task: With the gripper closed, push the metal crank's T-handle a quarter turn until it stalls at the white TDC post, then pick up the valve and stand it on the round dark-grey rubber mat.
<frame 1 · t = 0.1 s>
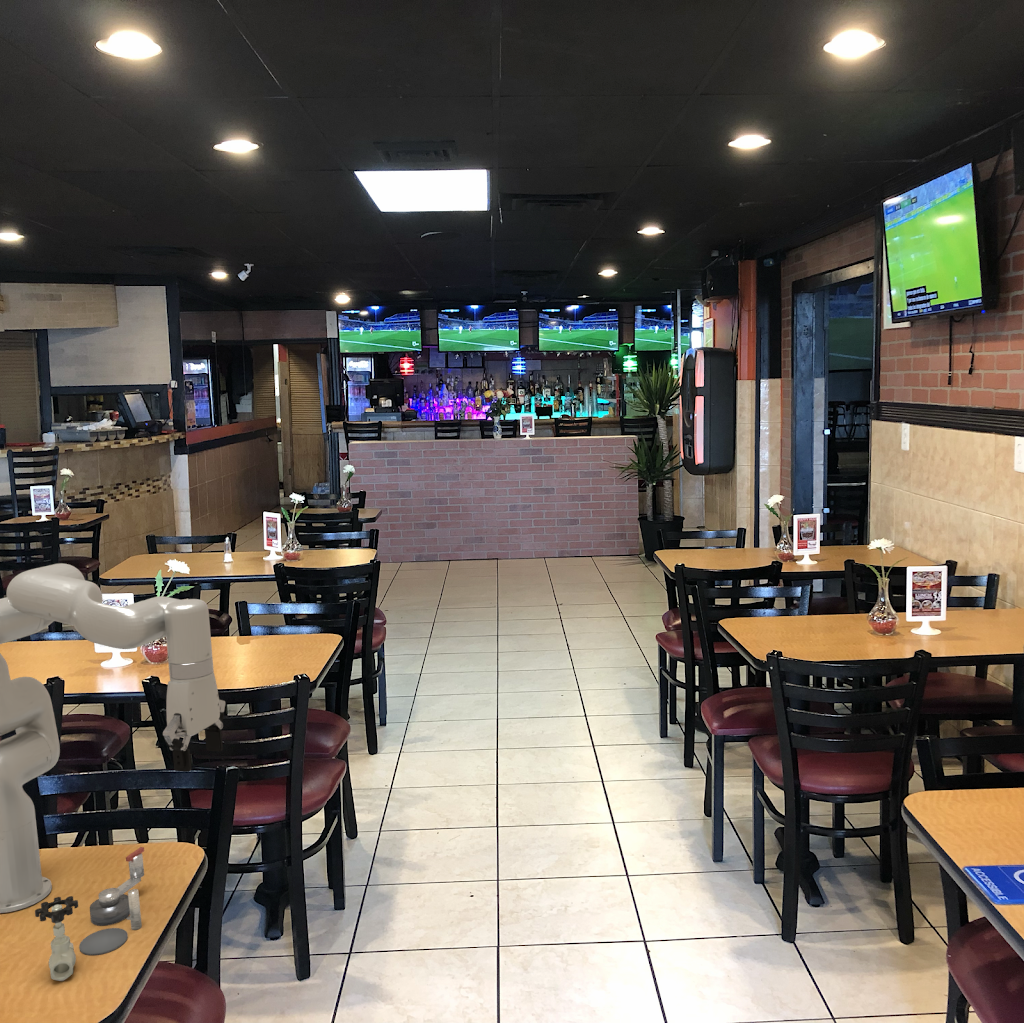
hand: (199, 760, 169), 31 cm above the table, tool pointing down, fingers open, 9 cm apart
crank: (123, 876, 180), point 6 cm above the table, hinge at 0.0°
valve: (63, 973, 159), on the table
crank housing: (111, 915, 176), on the table
mat: (103, 942, 167), on the table
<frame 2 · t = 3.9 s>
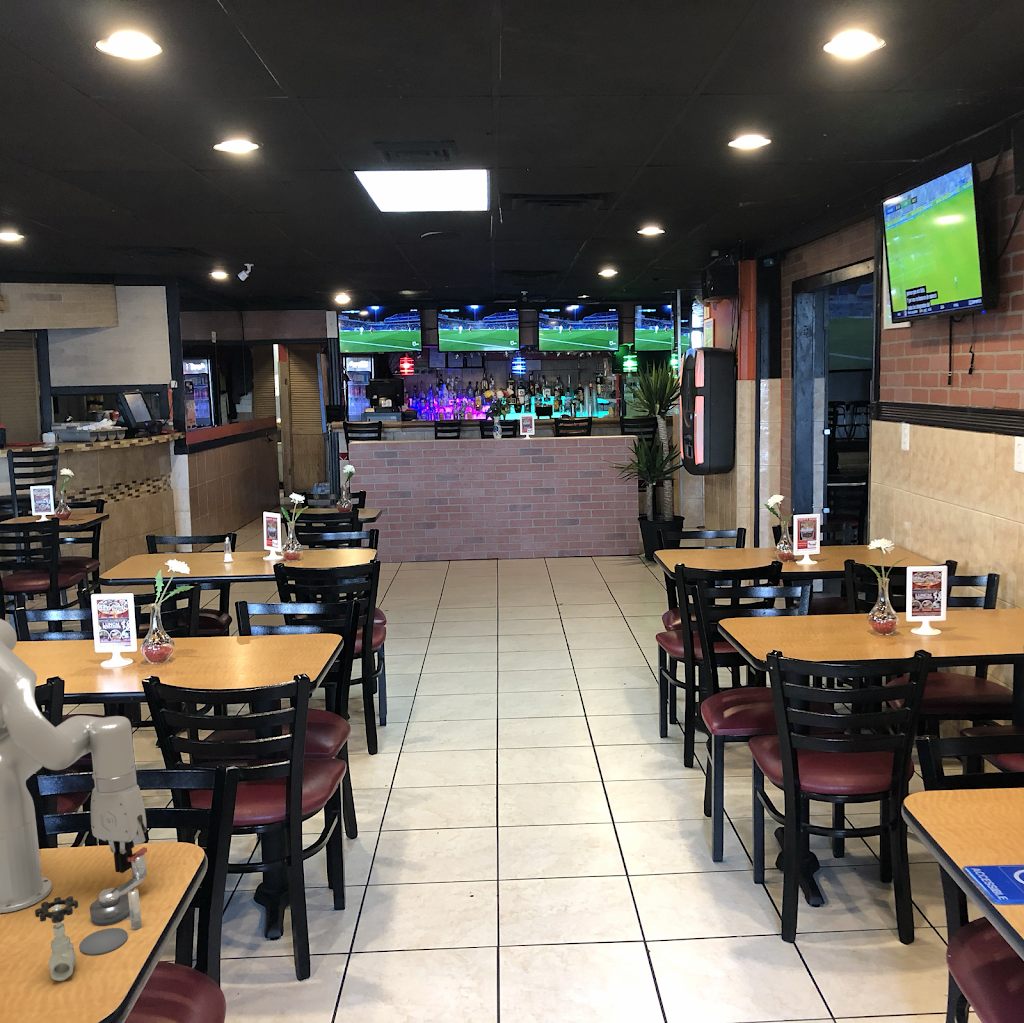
hand: (124, 869, 184), 5 cm above the table, tool pointing down, fingers closed
crank: (124, 876, 180), point 6 cm above the table, hinge at 4.2°, touching gripper
everything else where it was.
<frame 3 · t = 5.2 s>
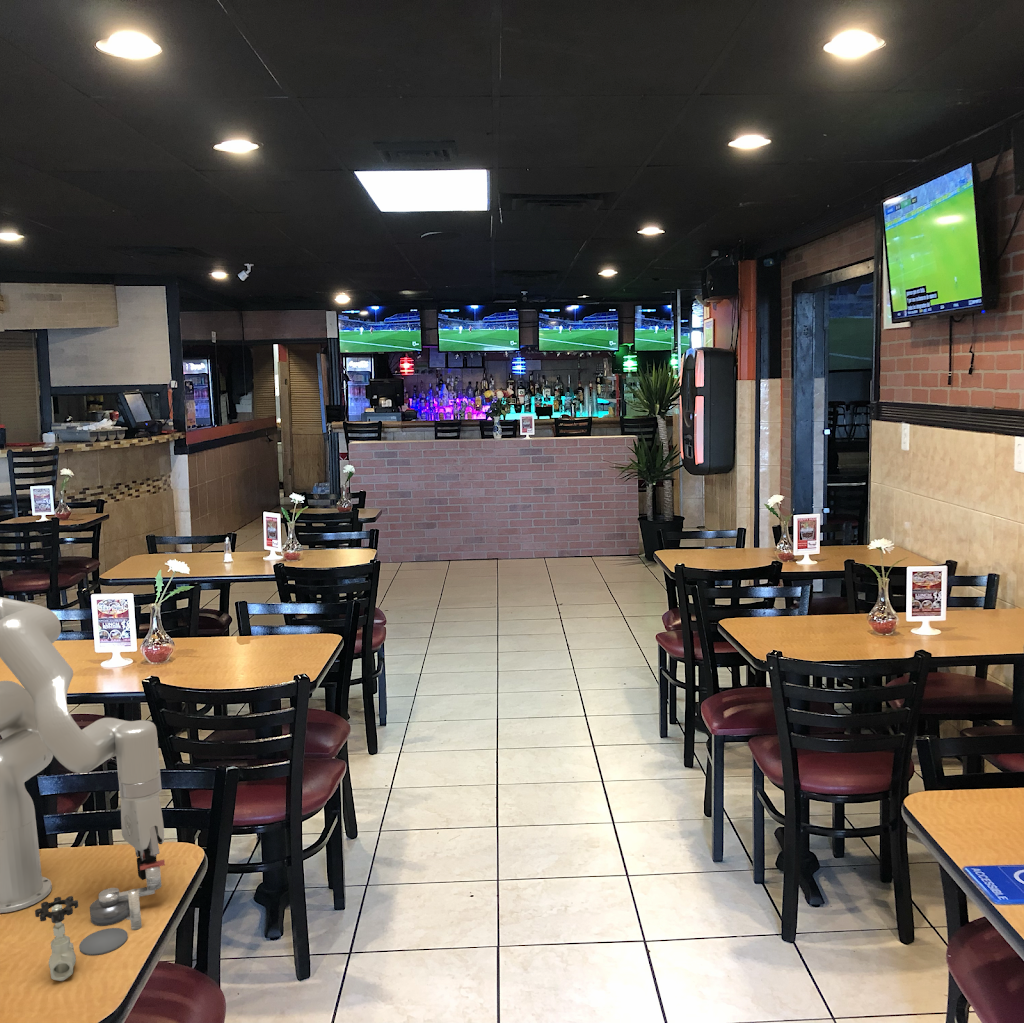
hand: (148, 875, 181), 5 cm above the table, tool pointing down, fingers closed
crank: (132, 881, 177), point 6 cm above the table, hinge at 52.7°, touching gripper
everything else where it was.
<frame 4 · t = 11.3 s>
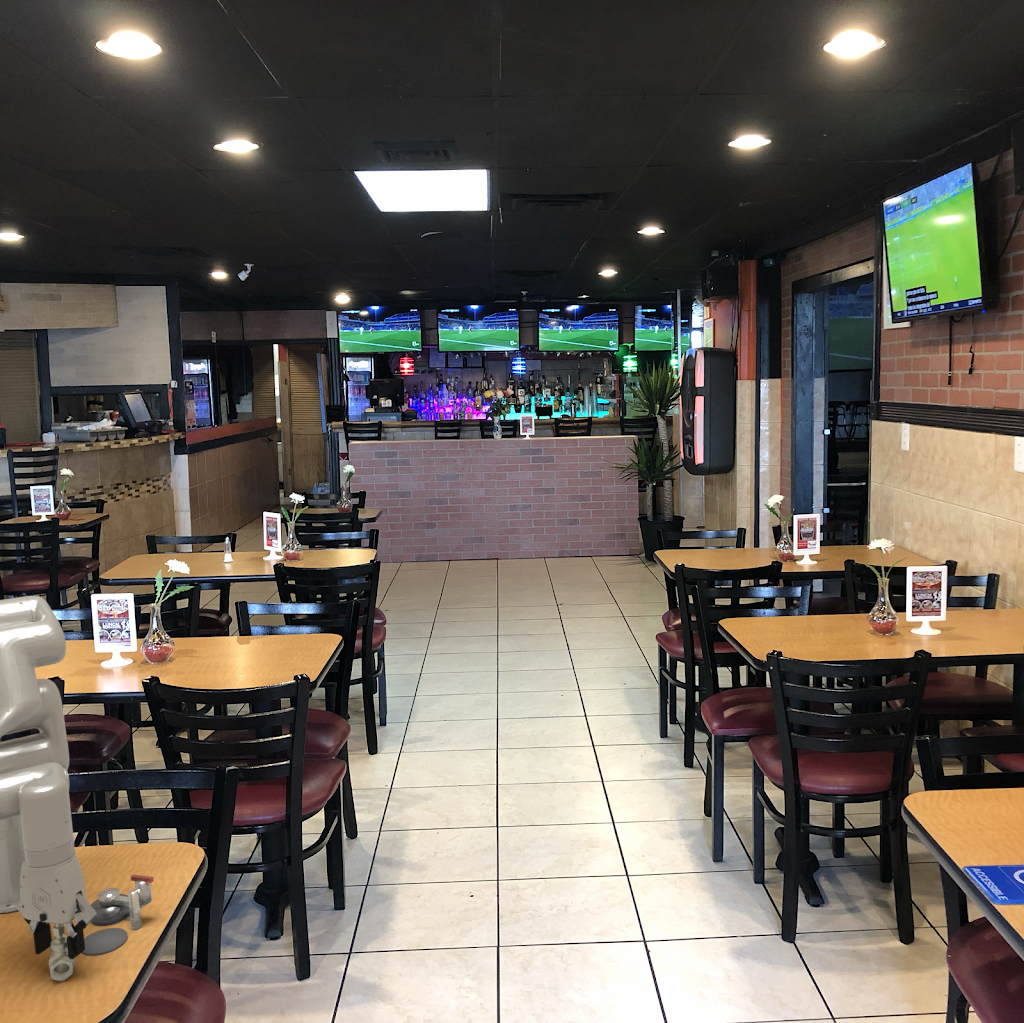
hand: (60, 951, 159), 4 cm above the table, tool pointing down, fingers open, 6 cm apart
crank: (126, 889, 174), point 6 cm above the table, hinge at 91.6°
valve: (63, 973, 159), on the table, touching gripper
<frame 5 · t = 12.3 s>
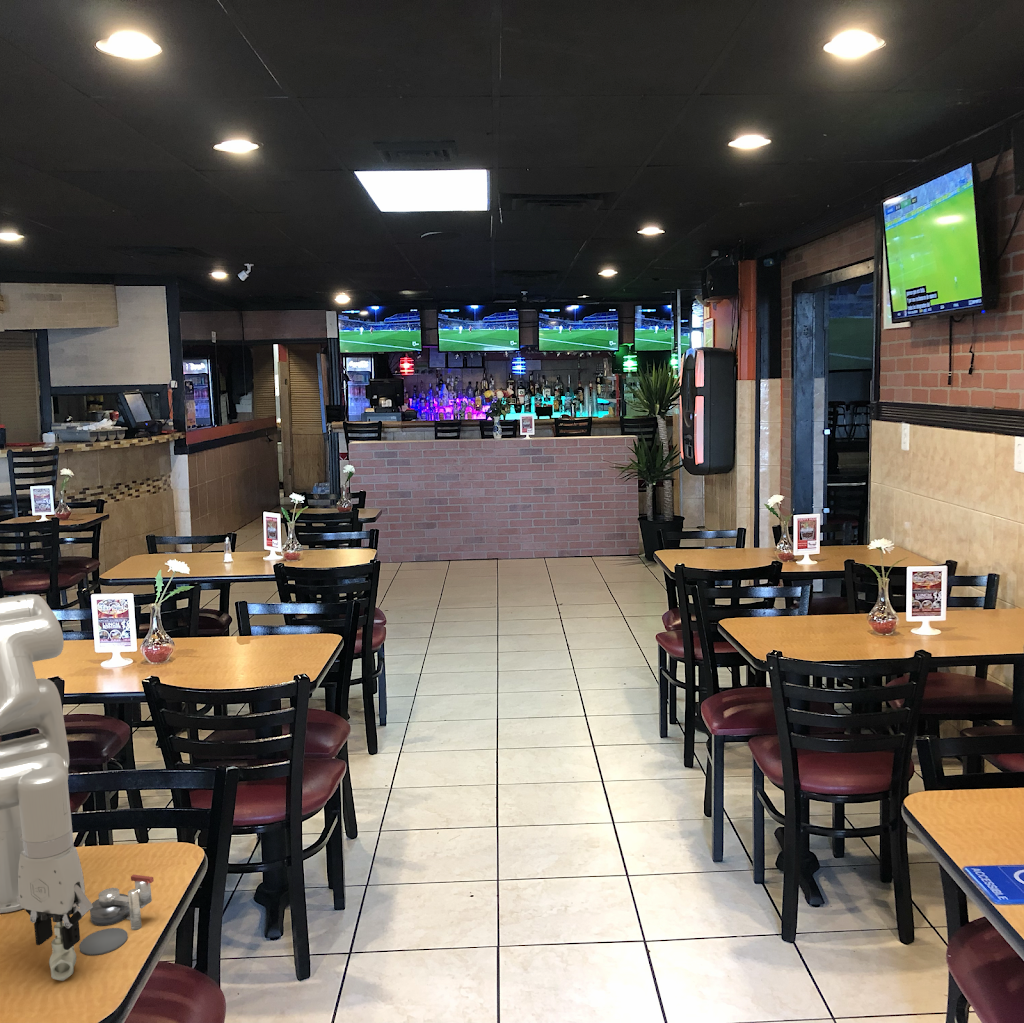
hand: (58, 941, 159), 5 cm above the table, tool pointing down, fingers closed on valve, 5 cm apart
valve: (64, 973, 159), on the table, touching gripper
everything else where it was.
when the fingers open (7 cm above the table, at t = 16.0 s): valve stays where it is, resting on mat.
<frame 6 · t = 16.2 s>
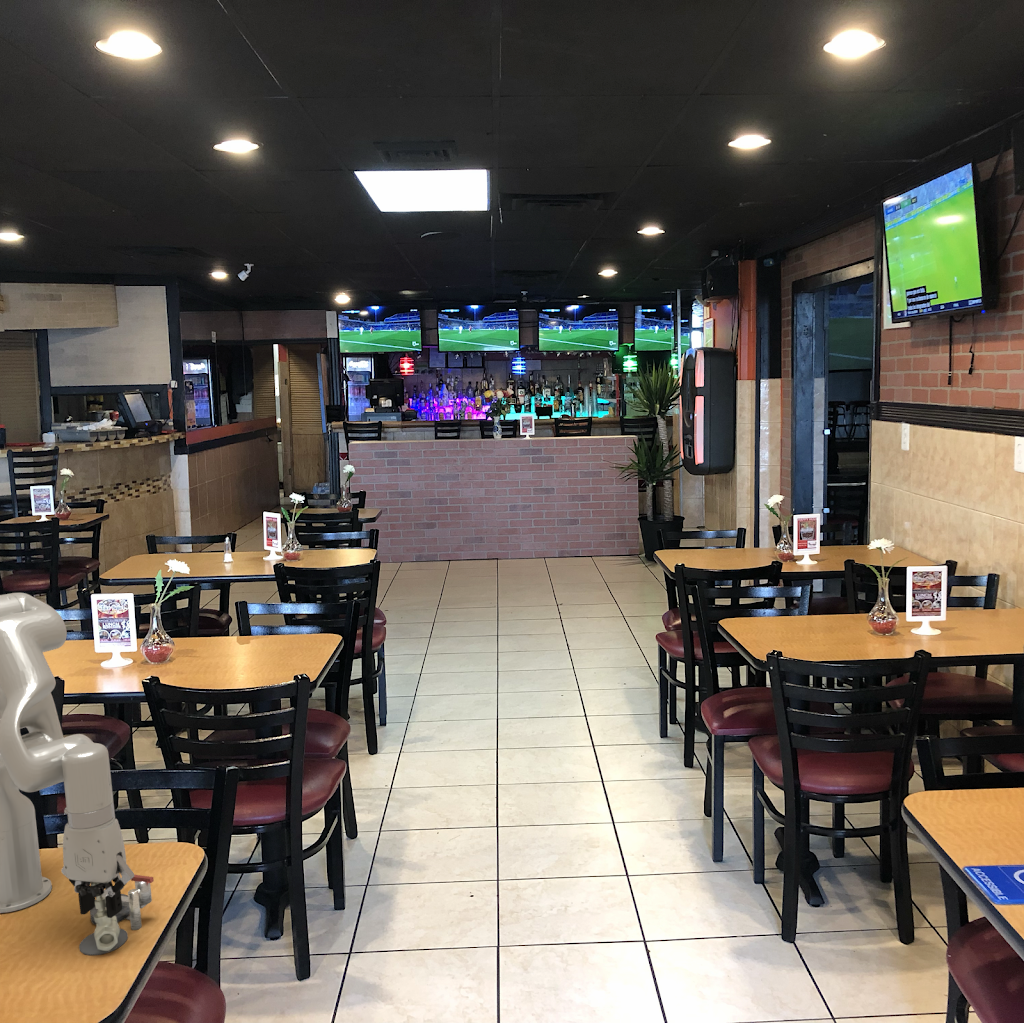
hand: (101, 911, 166), 6 cm above the table, tool pointing down, fingers open, 5 cm apart
valve: (109, 944, 166), resting on mat, touching gripper
everything else where it was.
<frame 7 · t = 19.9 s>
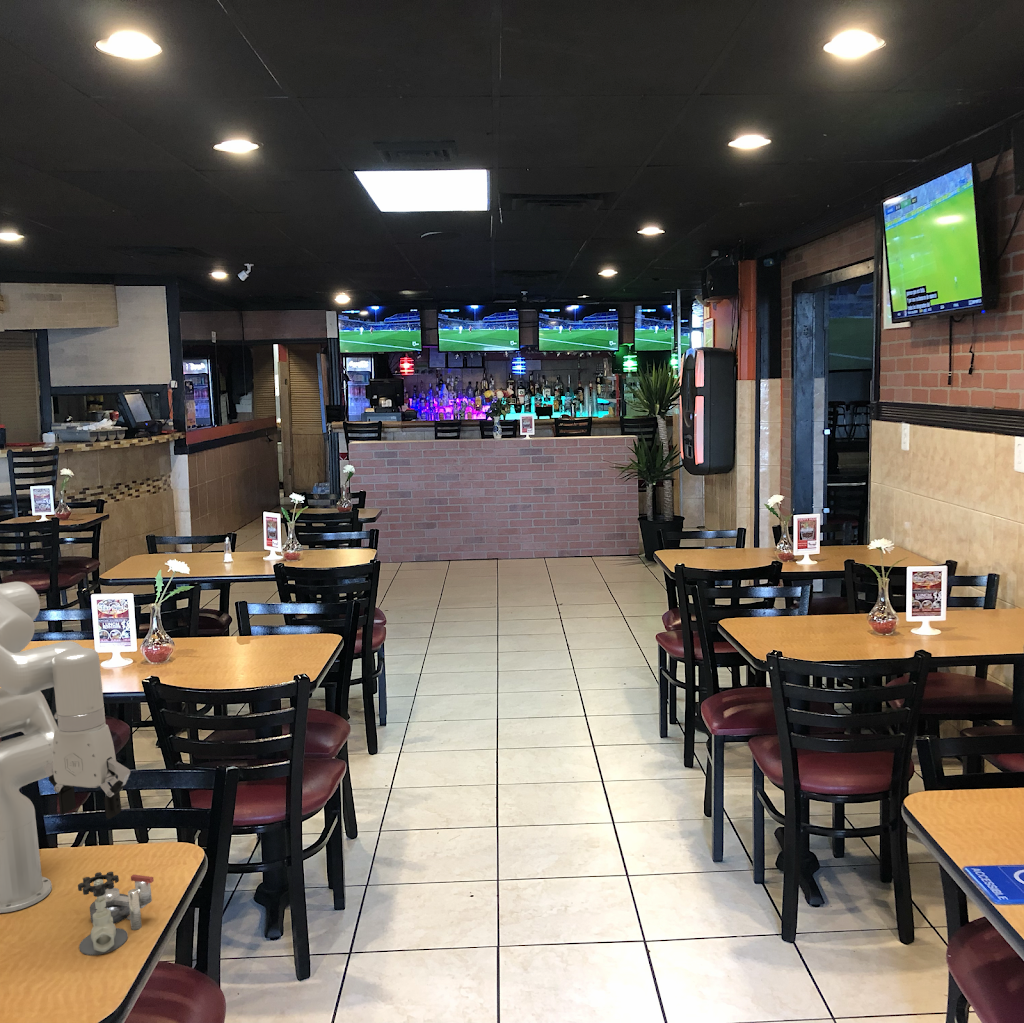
hand: (90, 813, 165), 24 cm above the table, tool pointing down, fingers open, 9 cm apart
valve: (104, 945, 166), resting on mat
everything else where it was.
at the end: crank at +92° (first picture: +0°); valve 1.4 cm from the mat (horizontally); valve tilted 0° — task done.
